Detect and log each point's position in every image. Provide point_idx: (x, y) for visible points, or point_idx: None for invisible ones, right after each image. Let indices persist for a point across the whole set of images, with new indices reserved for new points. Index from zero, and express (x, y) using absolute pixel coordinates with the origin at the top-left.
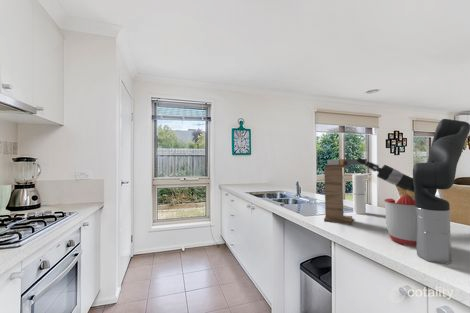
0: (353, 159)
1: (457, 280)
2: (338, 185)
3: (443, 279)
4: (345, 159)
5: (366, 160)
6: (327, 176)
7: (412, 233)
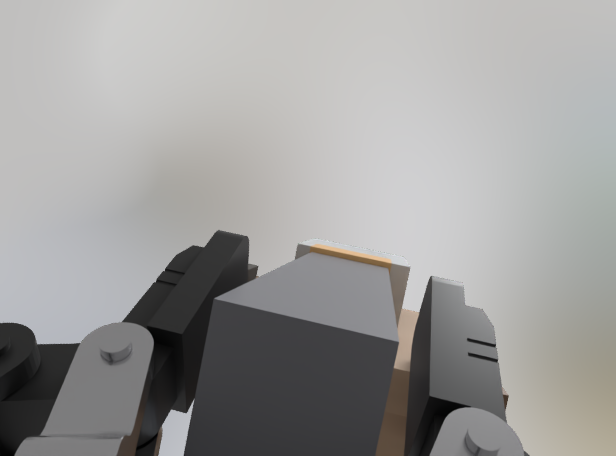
0: (286, 265)
1: None
2: None
3: None
4: (307, 254)
5: (210, 340)
6: None
7: None
